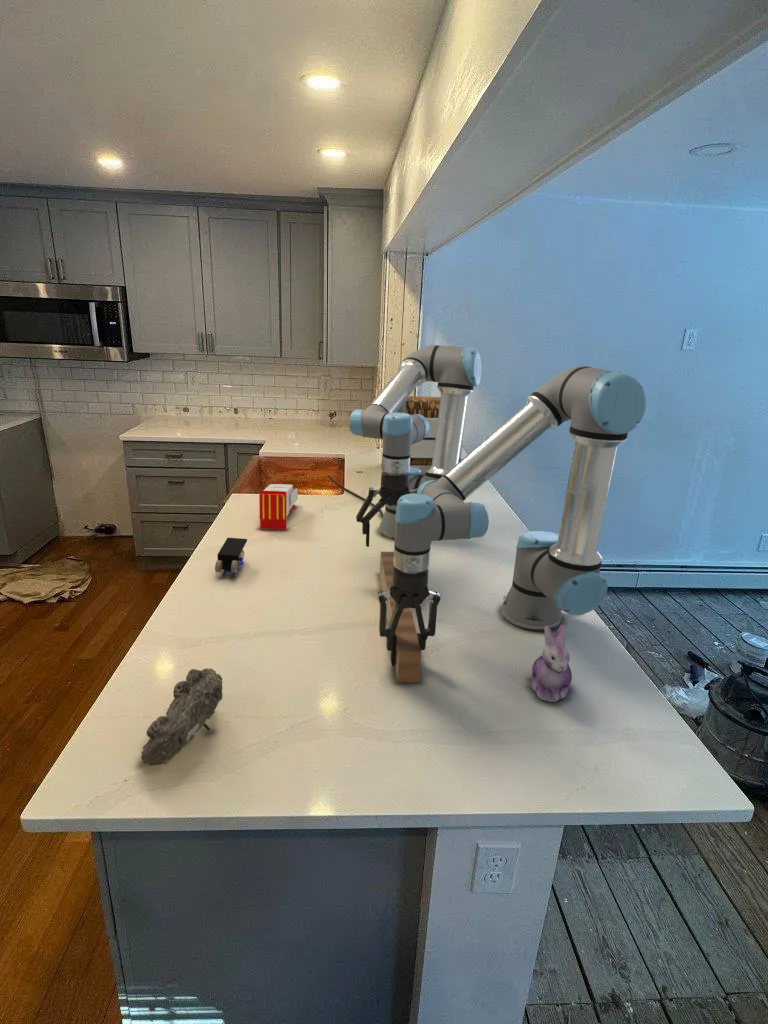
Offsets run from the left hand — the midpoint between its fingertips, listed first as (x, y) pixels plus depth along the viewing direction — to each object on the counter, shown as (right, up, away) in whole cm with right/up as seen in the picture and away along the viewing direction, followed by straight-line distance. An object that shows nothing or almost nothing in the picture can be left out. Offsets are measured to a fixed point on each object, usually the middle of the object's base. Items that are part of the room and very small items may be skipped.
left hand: (391, 545), depth 159 cm
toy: (-41, +8, +53) cm, 67 cm away
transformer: (+15, +28, +116) cm, 121 cm away
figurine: (+33, -29, -38) cm, 58 cm away
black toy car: (-47, -8, +9) cm, 48 cm away
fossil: (-38, -31, -54) cm, 73 cm away
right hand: (+3, -24, -32) cm, 40 cm away
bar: (+1, -18, -14) cm, 23 cm away
